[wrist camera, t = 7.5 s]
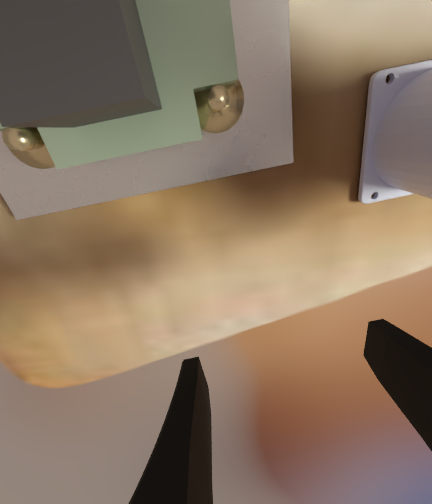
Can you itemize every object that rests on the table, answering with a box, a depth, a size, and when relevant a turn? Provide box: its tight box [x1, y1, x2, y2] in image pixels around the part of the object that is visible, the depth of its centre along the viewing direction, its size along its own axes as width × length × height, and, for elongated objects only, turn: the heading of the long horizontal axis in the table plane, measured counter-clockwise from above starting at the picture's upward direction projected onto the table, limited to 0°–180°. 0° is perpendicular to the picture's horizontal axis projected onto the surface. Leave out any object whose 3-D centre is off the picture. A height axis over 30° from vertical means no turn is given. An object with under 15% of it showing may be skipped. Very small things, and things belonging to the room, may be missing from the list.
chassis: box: [0, 0, 293, 220], centre depth 11 cm, size 18×14×4 cm
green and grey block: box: [0, 0, 239, 169], centre depth 8 cm, size 11×8×6 cm
